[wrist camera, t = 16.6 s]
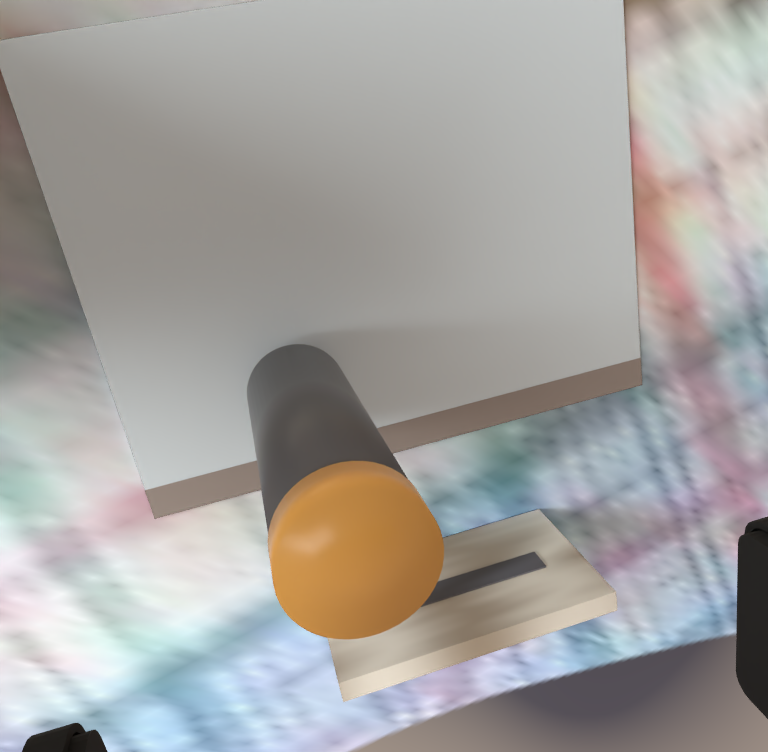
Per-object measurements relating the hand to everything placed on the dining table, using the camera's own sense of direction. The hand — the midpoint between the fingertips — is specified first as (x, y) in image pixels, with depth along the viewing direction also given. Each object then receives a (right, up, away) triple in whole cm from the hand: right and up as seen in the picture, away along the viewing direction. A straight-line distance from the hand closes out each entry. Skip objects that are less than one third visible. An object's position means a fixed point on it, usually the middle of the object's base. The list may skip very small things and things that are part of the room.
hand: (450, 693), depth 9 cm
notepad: (-1, +9, +14) cm, 17 cm away
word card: (+1, -3, +19) cm, 19 cm away
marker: (-4, +4, +15) cm, 16 cm away
